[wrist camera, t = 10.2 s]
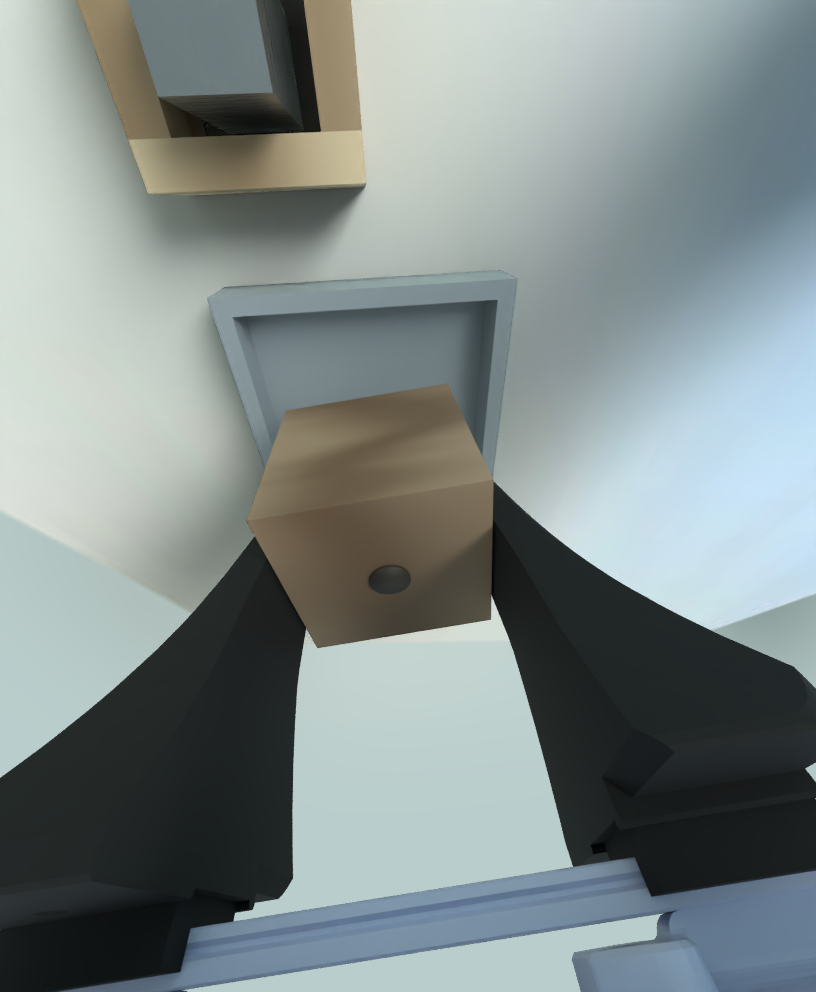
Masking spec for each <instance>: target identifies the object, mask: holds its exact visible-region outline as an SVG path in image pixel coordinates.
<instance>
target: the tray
mask: <svg viewBox="0 0 816 992" xmlns="http://www.w3.org/2000/svg"><path fill="white" fill-rule="evenodd" d="M516 285H517V278H515V277H513V276H511V275H509V274H507V273H505V272H502V271H500V270H497V271H480V272H464V273H448V274H432V275H416V276H399V277H383V278H367V279H351V280H334V281H318V282H302V283H286V284H270V285H253V286H237V287H225V288H223V289H221V290H220V291H218V292H216V293H215V294H213V295H211V296H210V297H208V298H207V300H208V303H209V306H210V309H211V312H212V314H213V317H214V320H215V323H216V326H217V329H218V332H219V335H220V338H221V341H222V344H223V347H224V350H225V353H226V356H227V359H228V362H229V365H230V367H231V370H232V373H233V376H234V379H235V382H236V385H237V388H238V391H239V394H240V397H241V400H242V403H243V406H244V409H245V412H246V415H247V418H248V420H249V423H250V426H251V429H252V432H253V435H254V438H255V441H256V444H257V447H258V450H259V453H260V456H261V459H262V462H263V465H264V468H265V467H266V464H267V462H268V459H269V456H270V453H271V450H272V448H273V445H274V442H275V439H276V437H277V434H278V431H279V428H280V425H281V423H282V420H283V417H284V414H285V411H286V410H292V409H298V408H304V407H310V406H316V405H322V404H328V403H334V402H340V401H346V400H352V399H358V398H364V397H370V396H376V395H382V394H388V393H393V392H399V391H405V390H411V389H417V388H423V387H429V386H435V385H441V384H447V383H448V385H449V387H450V389H451V392H452V394H453V396H454V398H455V400H456V402H457V404H458V406H459V408H460V410H461V413H462V415H463V417H464V419H465V421H466V423H467V425H468V427H469V429H470V432H471V434H472V436H473V438H474V440H475V442H476V444H477V446H478V448H479V450H480V453H481V455H482V457H483V459H484V461H485V463H486V465H487V467H488V469H489V471H490V474H491V476H493V468H494V460H495V452H496V444H497V436H498V429H499V421H500V413H501V405H502V397H503V389H504V381H505V373H506V365H507V357H508V349H509V341H510V333H511V325H512V317H513V309H514V301H515V293H516Z"/></svg>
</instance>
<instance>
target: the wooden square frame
mask: <svg viewBox="0 0 816 992" xmlns="http://www.w3.org/2000/svg"><path fill="white" fill-rule="evenodd" d="M77 3H78V6H79V8H80V11H81V14H82V16H83V19H84V22H85V25H86V27H87V30H88V33H89V35H90V38H91V41H92V43H93V46H94V49H95V52H96V54H97V57H98V60H99V62H100V65H101V68H102V70H103V73H104V76H105V79H106V81H107V84H108V87H109V89H110V92H111V95H112V97H113V100H114V103H115V106H116V108H117V111H118V114H119V116H120V119H121V122H122V124H123V127H124V130H125V133H126V135H127V138H128V141H129V143H130V146H131V149H132V152H133V154H134V157H135V160H136V162H137V165H138V168H139V170H140V173H141V176H142V179H143V181H144V184H145V187H146V189H147V192H148V194H167V195H188V196H192V195H213V194H233V193H254V192H274V191H295V190H315V189H335V188H356V187H365V186H366V174H365V162H364V151H363V139H362V127H361V115H360V103H359V91H358V79H357V67H356V56H355V44H354V32H353V20H352V8H351V0H304V7H305V15H306V22H307V30H308V37H309V45H310V52H311V60H312V67H313V74H314V82H315V89H316V97H317V104H318V112H319V119H320V127H321V132H307V133H282V134H258V135H233V136H209V137H206V133H205V129H204V126H203V122H202V119H200V118H198V117H196V116H194V115H192V114H190V113H188V112H186V111H184V110H183V109H181V108H179V107H177V106H175V105H173V104H171V103H169V102H167V101H165V100H163V99H161V98H160V97H158V95H157V92H156V89H155V85H154V82H153V79H152V76H151V73H150V70H149V67H148V63H147V60H146V57H145V54H144V51H143V48H142V45H141V41H140V38H139V35H138V32H137V29H136V26H135V23H134V19H133V16H132V13H131V10H130V7H129V4H128V1H127V0H77Z"/></svg>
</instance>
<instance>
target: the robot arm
mask: <svg viewBox="0 0 816 992" xmlns="http://www.w3.org/2000/svg"><path fill="white" fill-rule="evenodd" d="M491 595H492V597H493V600H494V602H495V605H496V607H497V610H498V612H499V615H500V617H501V620H502V622H503V625H504V627H505V630H506V632H507V635H508V637H509V640H510V643H511V646H512V648H513V651H514V654H515V658H516V661H517V664H518V668H519V671H520V675H521V678H522V681H523V685H524V688H525V692H526V695H527V699H528V702H529V706H530V709H531V713H532V716H533V720H534V723H535V727H536V730H537V734H538V738H539V742H540V745H541V749H542V753H543V756H544V760H545V764H546V767H547V771H548V775H549V779H550V783H551V787H552V791H553V795H554V799H555V803H556V807H557V810H558V814H559V818H560V822H561V827H562V831H563V835H564V838H565V842H566V846H567V849H568V852H569V855H570V858H571V861H572V865H573V867H570V868H564V869H558V870H552V871H546V872H539V873H534V874H528V875H521V876H515V877H508V878H502V879H496V880H490V881H483V882H477V883H471V884H465V885H458V886H452V887H446V888H439V889H434V890H427V891H421V892H415V893H408V894H402V895H396V896H390V897H384V898H378V899H371V900H365V901H358V902H352V903H346V904H340V905H334V906H327V907H321V908H315V909H309V910H303V911H297V912H290V913H284V914H277V915H271V916H265V917H259V918H253V919H247V920H240V921H234V915H235V913H236V912H243V911H249V910H252V909H253V907H254V903H256V902H262V901H268V900H274V899H278V898H280V896H282V894H283V893H284V892H285V890H286V889H287V887H288V886H289V884H290V882H291V880H292V879H293V861H292V860H293V855H292V853H293V852H292V850H293V848H292V802H293V800H292V799H293V757H294V732H295V714H296V696H297V684H298V676H299V668H300V662H301V656H302V649H303V644H304V638H305V632H306V627H305V625H304V623H303V621H302V620H301V618H300V616H299V614H298V612H297V611H296V609H295V607H294V605H293V603H292V602H291V600H290V598H289V596H288V595H287V593H286V591H285V589H284V587H283V586H282V584H281V582H280V580H279V578H278V577H277V575H276V573H275V571H274V569H273V568H272V566H271V564H270V562H269V561H268V559H267V557H266V555H265V553H264V552H263V550H262V548H261V546H260V544H259V543H258V541H257V539H256V537H254V538H253V539H252V541H251V542H250V543H249V545H248V546H247V547H246V549H245V550H244V551H243V553H242V554H241V555H240V556H239V558H238V559H237V560H236V562H235V563H234V564H233V565H232V567H231V568H230V569H229V571H228V572H227V573H226V574H225V576H224V577H223V578H222V579H221V580H220V582H219V583H218V584H217V585H216V586H215V587H214V589H213V590H212V591H211V592H210V593H209V595H208V596H207V597H206V598H205V599H204V600H203V602H202V603H201V604H200V605H199V606H198V607H197V609H196V610H195V611H194V612H193V613H192V614H191V615H190V616H189V618H188V619H187V620H186V621H185V622H184V623H183V624H182V625H181V626H180V627H179V628H178V629H177V630H176V631H175V632H174V633H173V634H172V635H171V636H170V637H169V638H168V639H167V640H166V641H165V642H164V643H163V644H162V645H161V646H160V647H159V648H158V649H157V650H156V651H155V652H154V653H153V654H152V655H151V656H150V657H148V658H147V659H146V660H145V661H144V662H143V663H142V664H141V665H140V666H139V667H137V668H136V669H135V670H134V671H133V672H132V673H131V674H130V675H129V676H128V677H127V678H125V680H123V681H122V682H121V683H120V684H119V685H118V686H117V687H115V688H114V689H113V690H112V691H111V692H110V693H109V694H107V695H106V696H105V697H104V698H103V699H102V700H100V701H99V702H98V703H97V704H95V705H94V706H93V707H92V708H91V709H89V710H88V711H87V712H86V713H85V714H83V715H82V716H81V717H80V718H78V719H77V720H76V721H75V722H73V723H72V724H71V725H70V726H68V727H67V728H66V729H65V730H63V731H62V732H61V733H60V734H58V735H57V736H56V737H54V739H52V740H51V741H49V742H48V743H47V744H45V745H44V746H43V747H42V748H40V749H39V750H38V751H36V752H35V753H33V754H32V755H31V756H30V757H28V758H27V759H25V760H24V761H23V762H21V763H20V764H19V765H17V766H16V767H15V768H13V769H12V770H11V771H9V772H8V773H6V774H5V775H4V776H2V777H1V778H0V992H187V991H183V990H186V989H193V988H199V987H205V986H211V985H218V984H223V983H230V982H236V981H242V980H248V979H255V978H261V977H267V976H274V975H280V974H287V973H293V972H299V971H305V970H311V969H318V968H324V967H330V966H336V965H343V964H349V963H355V962H361V961H368V960H373V959H380V958H387V957H393V956H399V955H406V954H412V953H418V952H424V951H430V950H437V949H443V948H449V947H455V946H462V945H468V944H474V943H481V942H487V941H493V940H499V939H506V938H512V937H518V936H525V935H530V934H537V933H543V932H550V931H556V930H562V929H568V928H575V927H580V926H587V925H593V924H600V923H606V922H612V921H618V920H625V919H631V918H637V917H644V916H649V915H656V914H662V913H664V914H662V915H660V917H659V920H658V922H657V936H656V938H655V939H654V940H648V941H639V942H632V943H625V944H619V945H613V946H607V947H601V948H596V949H591V950H585V951H579V952H574V954H573V957H572V962H573V965H574V968H575V972H576V976H577V979H578V983H579V986H580V990H581V992H816V799H815V798H816V782H815V781H814V780H813V778H812V777H811V776H810V774H809V773H808V772H807V771H806V769H805V768H807V767H809V766H810V765H812V764H813V763H816V688H815V687H814V686H813V685H812V684H811V683H810V682H809V681H808V680H807V679H806V678H805V677H804V676H803V675H802V674H801V673H800V672H799V671H797V670H796V669H795V668H794V667H793V666H791V665H788V664H786V663H784V662H781V661H779V660H777V659H774V658H772V657H769V656H768V655H765V654H763V653H760V652H758V651H756V650H754V649H751V648H749V647H747V646H744V645H742V644H740V643H737V642H735V641H733V640H730V639H728V638H726V637H724V636H721V635H719V634H717V633H715V632H713V631H711V630H709V629H707V628H705V627H703V626H701V625H698V624H696V623H694V622H692V621H690V620H688V619H686V618H684V617H682V616H680V615H678V614H676V613H674V612H672V611H670V610H668V609H667V608H665V607H663V606H661V605H659V604H657V603H656V602H654V601H652V600H650V599H648V598H647V597H645V596H643V595H641V594H639V593H638V592H636V591H634V590H632V589H630V588H629V587H627V586H625V585H623V584H622V583H620V582H619V581H617V580H615V579H614V578H612V577H610V576H609V575H607V574H606V573H604V572H603V571H601V570H600V569H598V568H597V567H595V566H594V565H592V564H591V563H589V562H588V561H586V560H585V559H583V558H582V557H581V556H579V555H578V554H576V553H575V552H574V551H572V550H571V549H570V548H568V547H567V546H566V545H565V544H563V543H562V542H561V541H559V540H558V539H557V538H556V537H554V536H553V535H552V534H551V533H549V532H548V531H547V530H546V529H545V528H543V527H542V526H541V525H540V524H539V523H538V522H536V521H535V520H534V519H533V518H532V517H531V516H529V515H528V514H527V513H526V512H525V511H524V510H523V509H522V508H521V507H520V506H519V505H517V504H516V503H515V502H514V501H513V500H512V499H511V498H510V497H509V496H508V495H507V494H506V493H505V492H504V491H503V490H502V489H501V488H500V487H499V486H498V485H497V484H496V483H495V482H493V532H492V586H491ZM233 921H234V922H233Z"/></svg>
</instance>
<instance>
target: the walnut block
mask: <svg viewBox="0 0 816 992" xmlns="http://www.w3.org/2000/svg"><path fill="white" fill-rule="evenodd" d="M246 521H247V523H248V525H249V527H250V528H251V530H252V532H253V534H254V536H255V537H256V539H257V541H258V543H259V544H260V546H261V548H262V550H263V552H264V553H265V555H266V557H267V559H268V561H269V562H270V564H271V566H272V568H273V569H274V571H275V573H276V575H277V577H278V578H279V580H280V582H281V584H282V586H283V587H284V589H285V591H286V593H287V595H288V596H289V598H290V600H291V602H292V603H293V605H294V607H295V609H296V611H297V612H298V614H299V616H300V618H301V620H302V621H303V623H304V625H305V627H306V628H307V630H308V632H309V634H310V636H311V637H312V639H313V641H314V643H315V645H316V646H317V648H321V647H327V646H333V645H339V644H345V643H352V642H358V641H364V640H370V639H376V638H382V637H388V636H394V635H400V634H406V633H412V632H418V631H425V630H431V629H437V628H443V627H449V626H455V625H461V624H467V623H473V622H479V621H485V620H491V586H492V532H493V478H492V476H491V474H490V471H489V469H488V467H487V465H486V463H485V461H484V459H483V457H482V455H481V453H480V450H479V448H478V446H477V444H476V442H475V440H474V438H473V436H472V434H471V432H470V429H469V427H468V425H467V423H466V421H465V419H464V417H463V415H462V413H461V410H460V408H459V406H458V404H457V402H456V400H455V398H454V396H453V394H452V392H451V389H450V387H449V385H448V383H447V384H441V385H435V386H429V387H423V388H417V389H411V390H405V391H399V392H393V393H388V394H382V395H376V396H370V397H364V398H358V399H352V400H346V401H340V402H334V403H328V404H322V405H316V406H310V407H304V408H298V409H292V410H286V411H285V414H284V417H283V420H282V423H281V425H280V428H279V431H278V434H277V437H276V439H275V442H274V445H273V448H272V450H271V453H270V456H269V459H268V462H267V464H266V467H265V470H264V473H263V476H262V478H261V481H260V484H259V487H258V490H257V492H256V495H255V498H254V501H253V504H252V506H251V509H250V512H249V515H248V518H247V520H246Z"/></svg>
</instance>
